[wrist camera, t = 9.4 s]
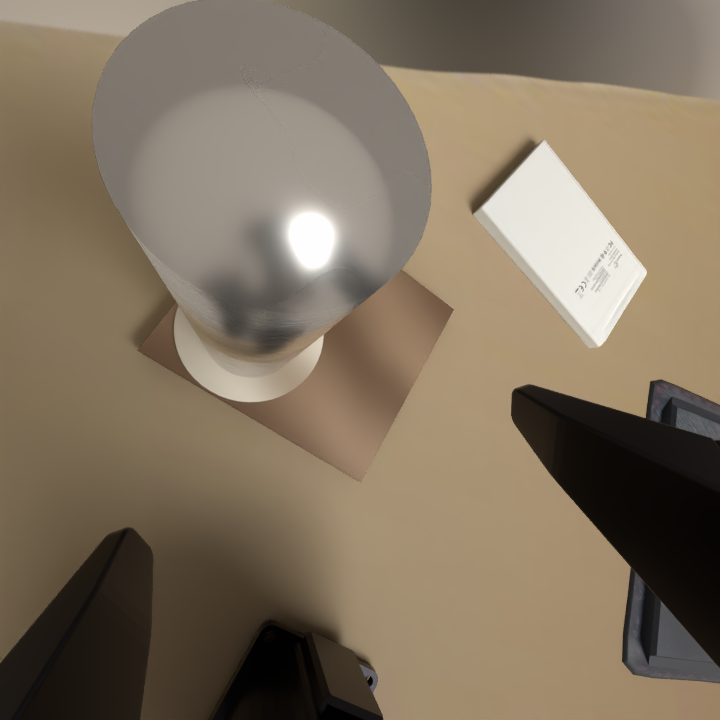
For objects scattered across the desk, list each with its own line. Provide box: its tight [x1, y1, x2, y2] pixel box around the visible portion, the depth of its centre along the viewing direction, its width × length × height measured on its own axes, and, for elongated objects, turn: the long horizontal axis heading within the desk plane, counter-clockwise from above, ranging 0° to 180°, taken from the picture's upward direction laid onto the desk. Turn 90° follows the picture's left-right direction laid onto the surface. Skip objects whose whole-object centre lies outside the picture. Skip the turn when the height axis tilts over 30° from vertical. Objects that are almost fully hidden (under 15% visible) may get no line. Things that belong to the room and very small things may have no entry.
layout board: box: [137, 270, 454, 483], centre depth 19 cm, size 11×12×1 cm
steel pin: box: [92, 0, 432, 378], centre depth 11 cm, size 4×4×13 cm
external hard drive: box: [473, 140, 647, 348], centre depth 25 cm, size 2×8×12 cm
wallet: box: [622, 380, 720, 683], centre depth 27 cm, size 20×2×15 cm
